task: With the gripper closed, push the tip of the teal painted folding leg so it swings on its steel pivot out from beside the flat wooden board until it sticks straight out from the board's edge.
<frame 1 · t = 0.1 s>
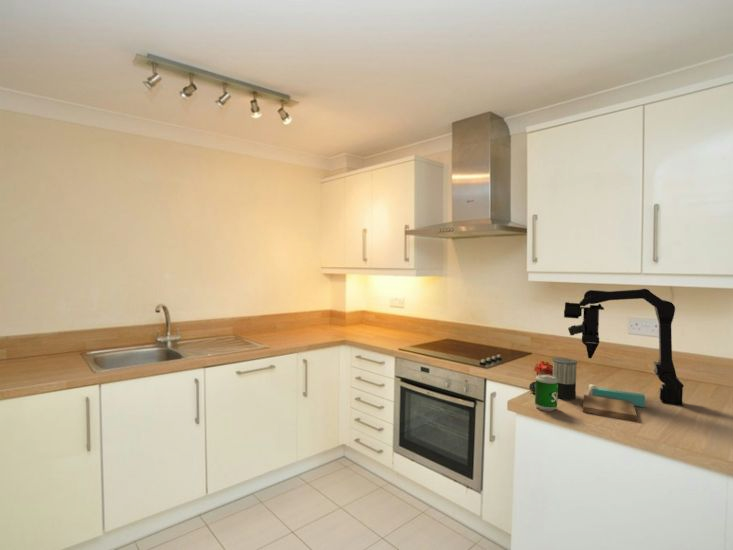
hand: (589, 356, 169), 15 cm above the worktop, tool pointing down, fingers open, 9 cm apart
dragon fruit: (545, 378, 187), on the worktop
soda can: (545, 408, 146), on the worktop
flat wooden board: (608, 409, 146), on the worktop
milk frother: (552, 395, 162), on the worktop
folding leg: (615, 395, 154), point 3 cm above the worktop, hinge at 0.0°
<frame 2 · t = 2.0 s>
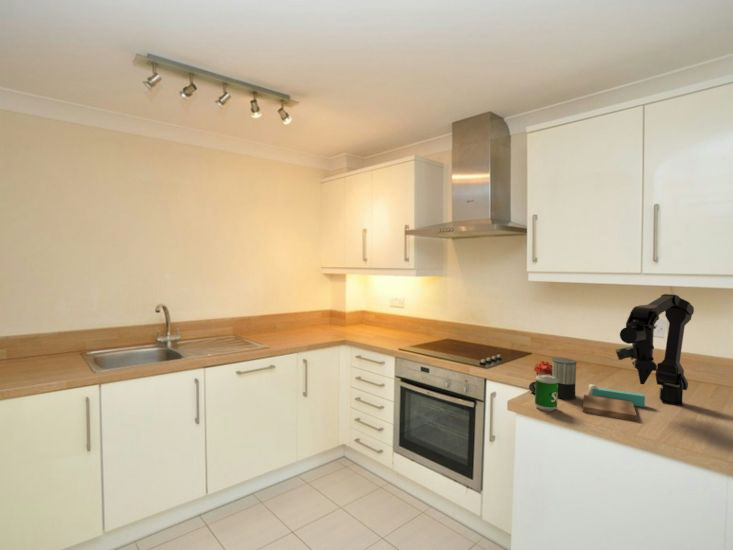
hand: (642, 384, 145), 10 cm above the worktop, tool pointing down, fingers closed
nothing on the worktop moved.
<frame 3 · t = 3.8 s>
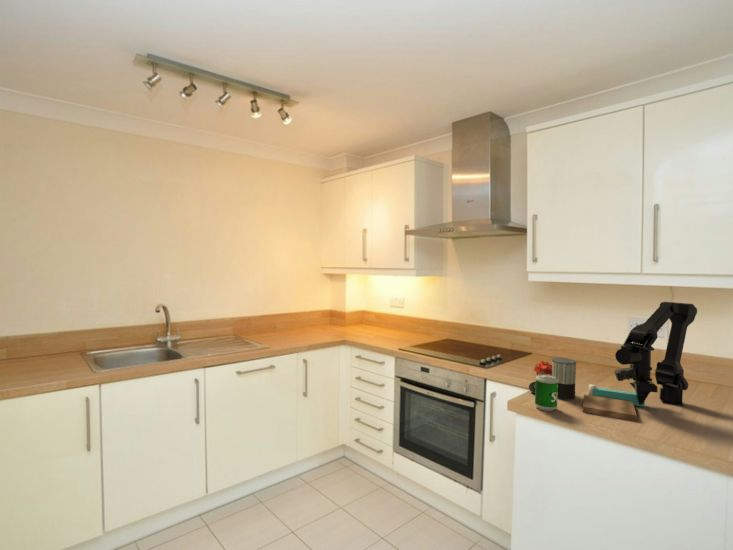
hand: (640, 404, 148), 1 cm above the worktop, tool pointing down, fingers closed
folding leg: (615, 394, 154), point 3 cm above the worktop, hinge at 1.5°, touching gripper
everything else where it was.
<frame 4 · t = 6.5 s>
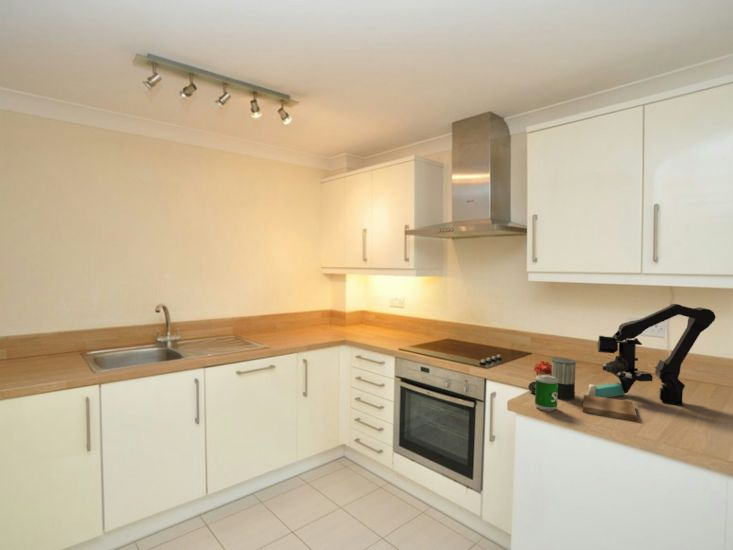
hand: (625, 393, 161), 2 cm above the worktop, tool pointing down, fingers closed
folding leg: (606, 389, 161), point 3 cm above the worktop, hinge at 51.8°, touching gripper
everything else where it was.
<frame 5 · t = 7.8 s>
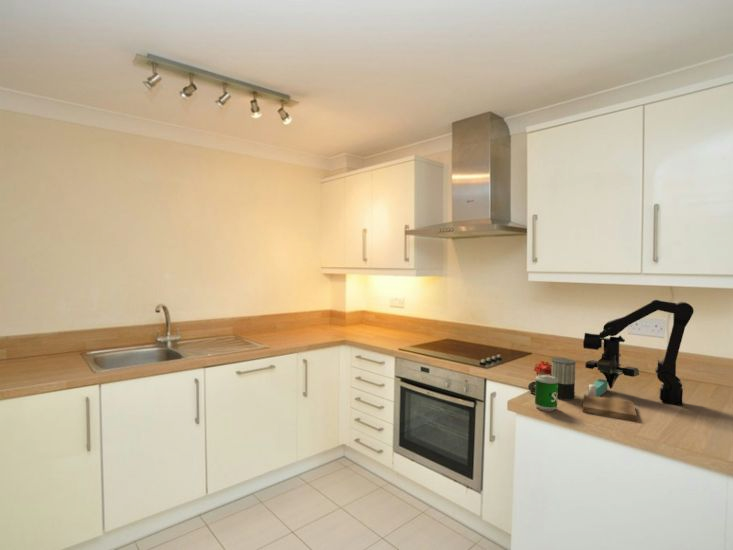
hand: (610, 388, 167), 2 cm above the worktop, tool pointing down, fingers closed
folding leg: (597, 387, 164), point 3 cm above the worktop, hinge at 75.7°, touching gripper
everything else where it was.
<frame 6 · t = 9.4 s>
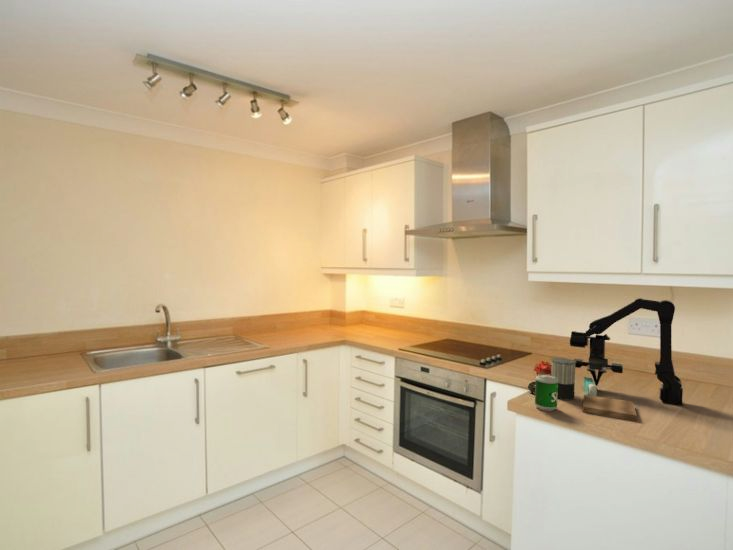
hand: (596, 385, 171), 2 cm above the worktop, tool pointing down, fingers closed
folding leg: (590, 386, 165), point 3 cm above the worktop, hinge at 96.3°, touching gripper
everything else where it was.
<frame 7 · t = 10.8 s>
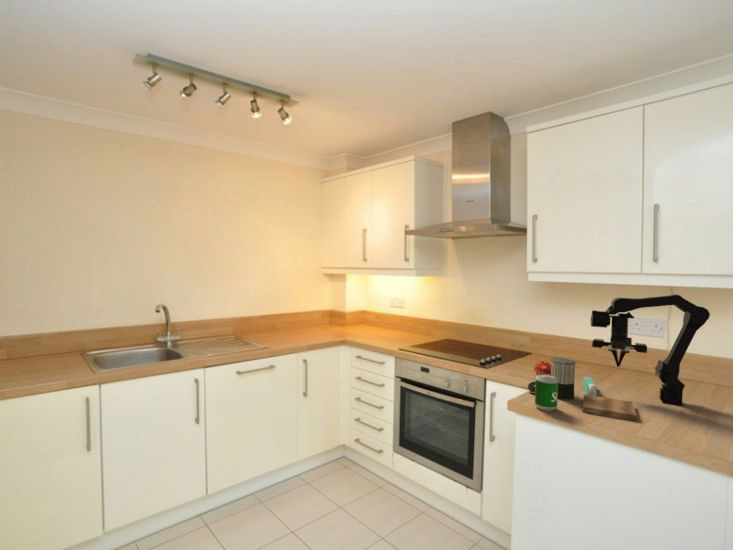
hand: (618, 366, 162), 12 cm above the worktop, tool pointing down, fingers closed
folding leg: (589, 386, 165), point 3 cm above the worktop, hinge at 96.4°
everything else where it was.
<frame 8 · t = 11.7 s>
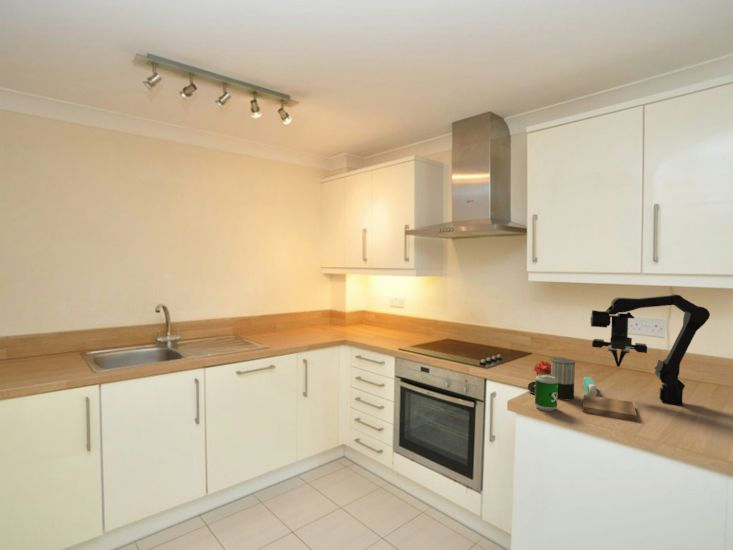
hand: (618, 366, 162), 12 cm above the worktop, tool pointing down, fingers closed
nothing on the worktop moved.
at the end: folding leg at +96° (first picture: +0°) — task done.
